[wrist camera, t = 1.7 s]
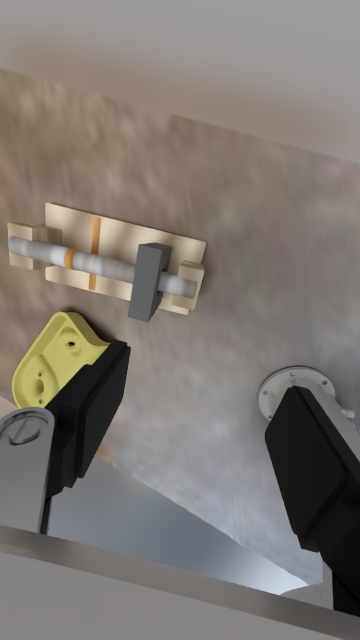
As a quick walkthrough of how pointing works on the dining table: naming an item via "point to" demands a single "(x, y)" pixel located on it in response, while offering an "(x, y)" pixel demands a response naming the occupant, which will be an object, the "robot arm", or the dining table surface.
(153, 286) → the collar
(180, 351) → the dining table surface
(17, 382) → the plastic component
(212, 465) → the dining table surface
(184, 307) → the pipe stand
